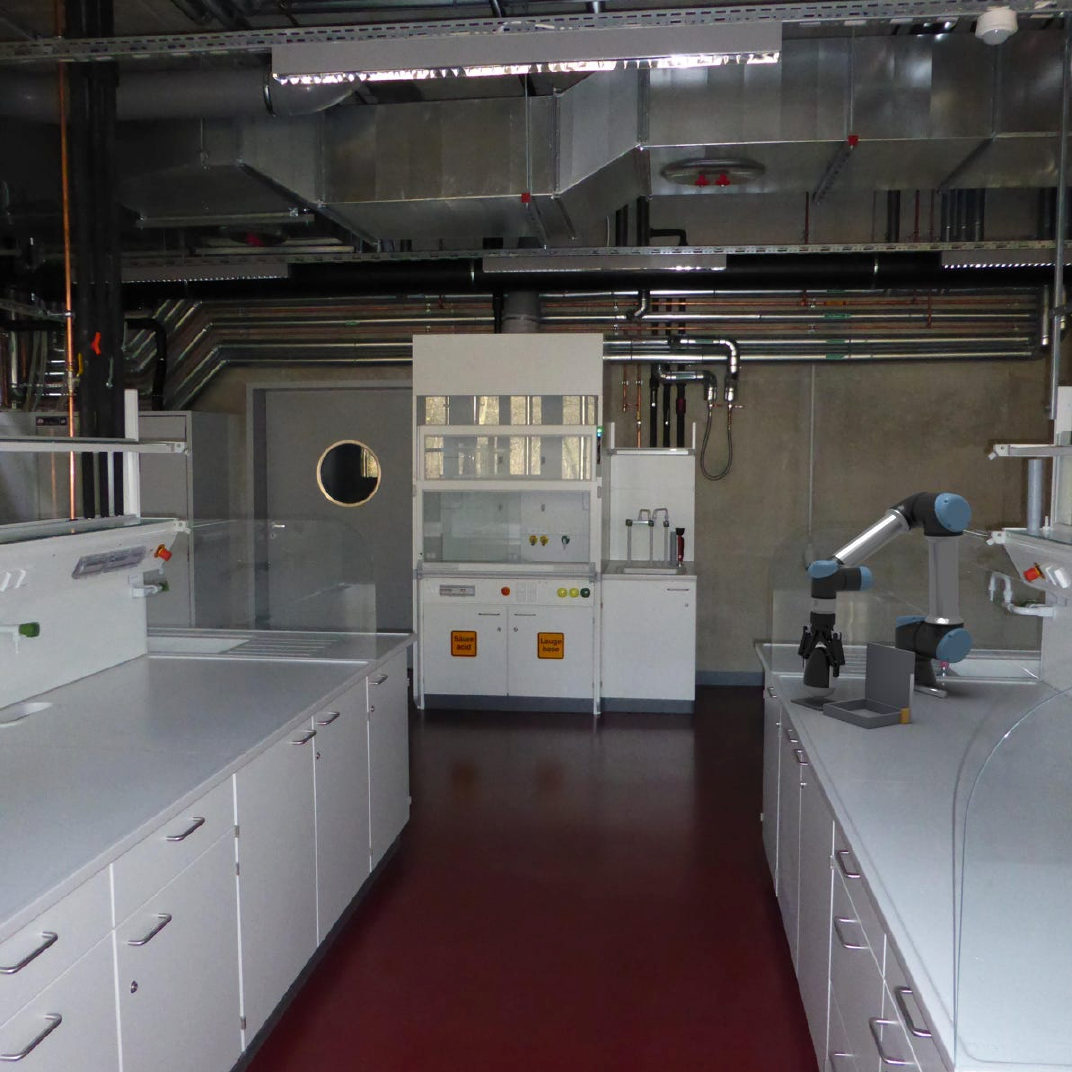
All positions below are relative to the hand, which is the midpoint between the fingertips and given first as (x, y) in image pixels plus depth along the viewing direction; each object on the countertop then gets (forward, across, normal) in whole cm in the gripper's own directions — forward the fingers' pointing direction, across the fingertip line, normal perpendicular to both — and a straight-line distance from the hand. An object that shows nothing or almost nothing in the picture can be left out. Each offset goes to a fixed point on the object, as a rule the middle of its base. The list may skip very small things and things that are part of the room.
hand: (820, 683), depth 293 cm
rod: (+4, +6, +42) cm, 42 cm away
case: (+6, +18, +1) cm, 19 cm away
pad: (+6, 0, 0) cm, 6 cm away
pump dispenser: (+4, 0, 0) cm, 4 cm away
